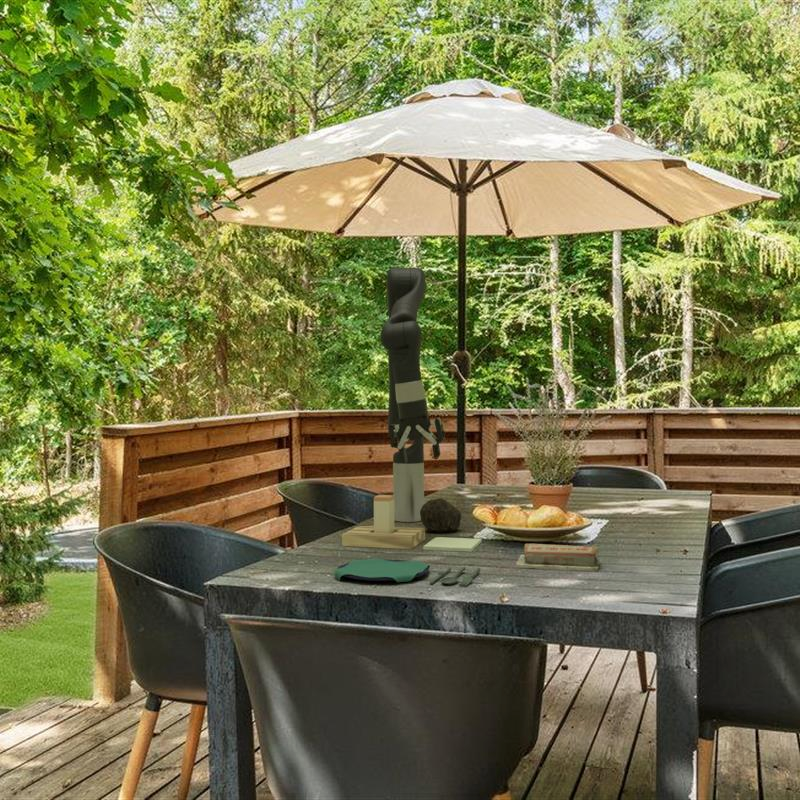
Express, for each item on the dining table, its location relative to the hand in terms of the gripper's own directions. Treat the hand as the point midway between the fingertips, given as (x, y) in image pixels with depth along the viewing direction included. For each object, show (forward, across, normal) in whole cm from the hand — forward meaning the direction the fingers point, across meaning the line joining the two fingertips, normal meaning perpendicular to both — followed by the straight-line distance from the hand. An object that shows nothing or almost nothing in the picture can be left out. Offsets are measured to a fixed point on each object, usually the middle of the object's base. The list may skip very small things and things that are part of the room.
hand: (420, 460), depth 239 cm
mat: (+21, -7, +7) cm, 24 cm away
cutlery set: (+19, -7, +46) cm, 50 cm away
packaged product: (+24, -36, +25) cm, 50 cm away
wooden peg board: (+19, +11, +8) cm, 23 cm away
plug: (+19, +11, +8) cm, 23 cm away
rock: (+22, +2, -14) cm, 26 cm away
